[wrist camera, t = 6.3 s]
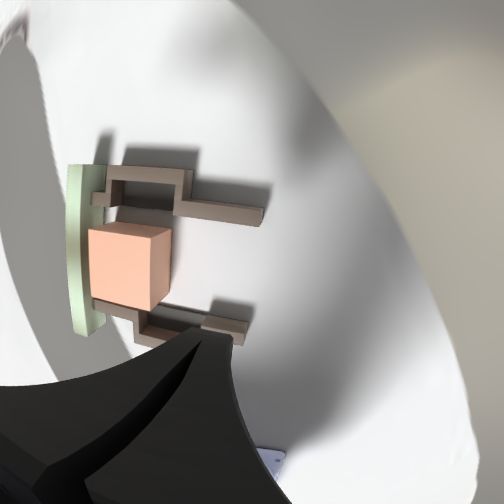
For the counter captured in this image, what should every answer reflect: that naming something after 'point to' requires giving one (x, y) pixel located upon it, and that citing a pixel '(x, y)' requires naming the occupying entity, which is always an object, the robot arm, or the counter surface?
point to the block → (130, 263)
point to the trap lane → (146, 196)
